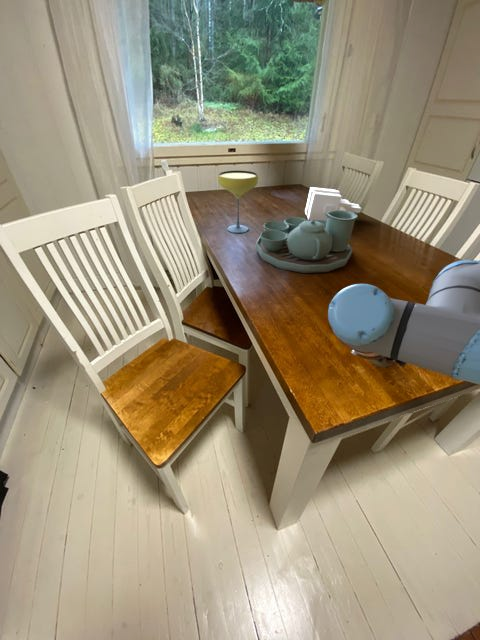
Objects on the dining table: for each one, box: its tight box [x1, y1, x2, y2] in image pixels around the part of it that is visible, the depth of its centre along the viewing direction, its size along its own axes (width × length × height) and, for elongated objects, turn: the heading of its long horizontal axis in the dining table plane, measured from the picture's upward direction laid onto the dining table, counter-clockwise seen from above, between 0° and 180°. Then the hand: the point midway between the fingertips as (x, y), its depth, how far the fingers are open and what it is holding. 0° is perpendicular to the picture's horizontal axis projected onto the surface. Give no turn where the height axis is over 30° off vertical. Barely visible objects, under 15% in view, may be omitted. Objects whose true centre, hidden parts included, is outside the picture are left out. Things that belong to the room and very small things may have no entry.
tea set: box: [255, 210, 358, 274], centre depth 112 cm, size 40×40×16 cm
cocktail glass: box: [217, 170, 259, 234], centre depth 130 cm, size 18×18×25 cm
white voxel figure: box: [304, 186, 362, 221], centre depth 148 cm, size 15×25×28 cm
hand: (379, 354), depth 65 cm, fingers closed
